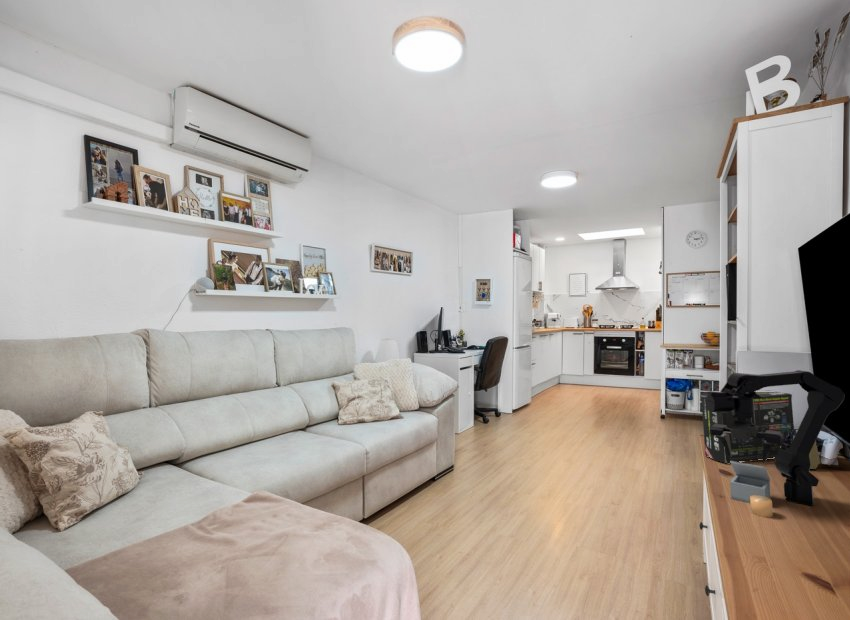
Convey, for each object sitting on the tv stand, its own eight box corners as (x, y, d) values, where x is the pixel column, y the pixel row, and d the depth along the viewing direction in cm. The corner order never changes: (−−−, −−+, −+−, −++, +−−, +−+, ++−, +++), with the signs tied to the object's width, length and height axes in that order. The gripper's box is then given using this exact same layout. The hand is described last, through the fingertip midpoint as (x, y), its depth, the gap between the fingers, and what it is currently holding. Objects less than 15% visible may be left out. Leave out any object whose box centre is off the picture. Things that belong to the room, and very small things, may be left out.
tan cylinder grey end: (774, 513, 128) (773, 498, 128) (771, 519, 124) (770, 503, 124) (752, 508, 132) (752, 493, 132) (749, 513, 128) (748, 498, 128)
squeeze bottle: (787, 466, 167) (785, 420, 167) (799, 463, 170) (796, 418, 170) (813, 472, 159) (810, 424, 160) (824, 469, 162) (821, 422, 163)
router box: (772, 450, 187) (768, 389, 188) (798, 457, 176) (794, 393, 177) (702, 456, 182) (698, 394, 183) (724, 465, 171) (720, 398, 172)
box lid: (770, 481, 139) (770, 479, 139) (765, 468, 134) (765, 466, 134) (735, 474, 145) (736, 473, 146) (730, 462, 141) (730, 460, 141)
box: (770, 498, 139) (769, 481, 139) (765, 506, 132) (764, 489, 133) (737, 490, 145) (736, 474, 145) (731, 498, 139) (730, 481, 139)
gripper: (703, 412, 140) (706, 459, 140) (775, 420, 126) (779, 472, 126) (712, 407, 148) (715, 452, 147) (781, 414, 134) (785, 463, 133)
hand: (746, 459), depth 138 cm, fingers open, 9 cm apart
